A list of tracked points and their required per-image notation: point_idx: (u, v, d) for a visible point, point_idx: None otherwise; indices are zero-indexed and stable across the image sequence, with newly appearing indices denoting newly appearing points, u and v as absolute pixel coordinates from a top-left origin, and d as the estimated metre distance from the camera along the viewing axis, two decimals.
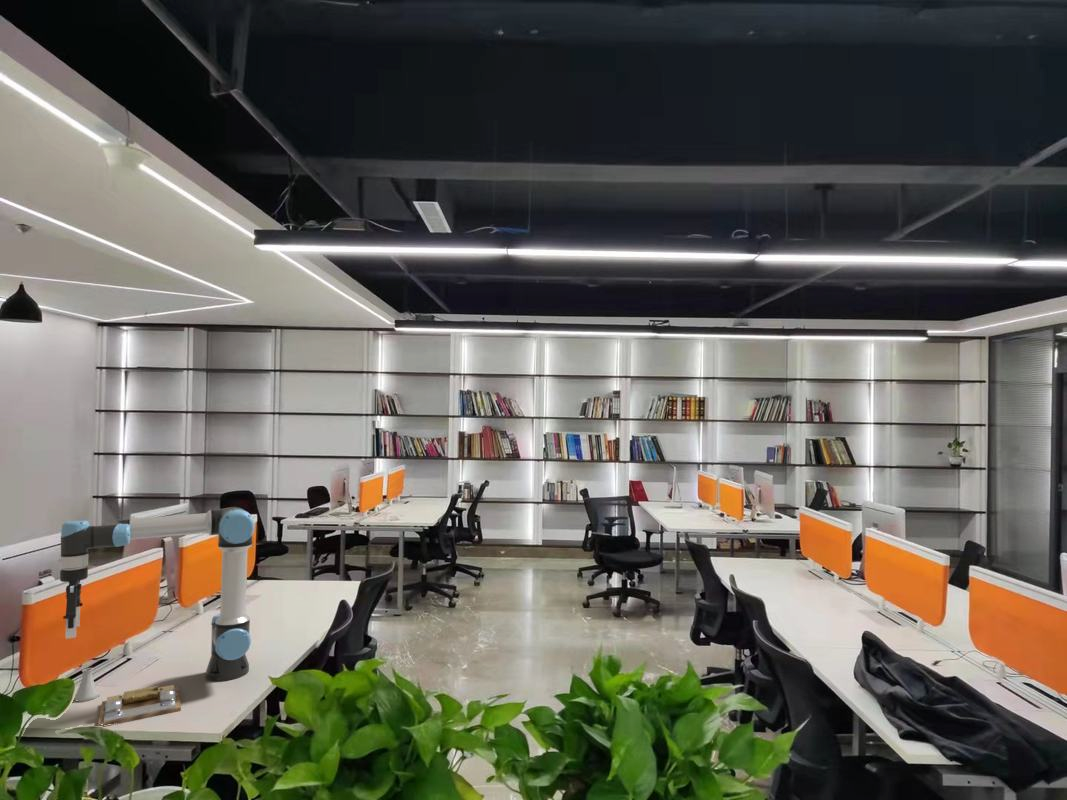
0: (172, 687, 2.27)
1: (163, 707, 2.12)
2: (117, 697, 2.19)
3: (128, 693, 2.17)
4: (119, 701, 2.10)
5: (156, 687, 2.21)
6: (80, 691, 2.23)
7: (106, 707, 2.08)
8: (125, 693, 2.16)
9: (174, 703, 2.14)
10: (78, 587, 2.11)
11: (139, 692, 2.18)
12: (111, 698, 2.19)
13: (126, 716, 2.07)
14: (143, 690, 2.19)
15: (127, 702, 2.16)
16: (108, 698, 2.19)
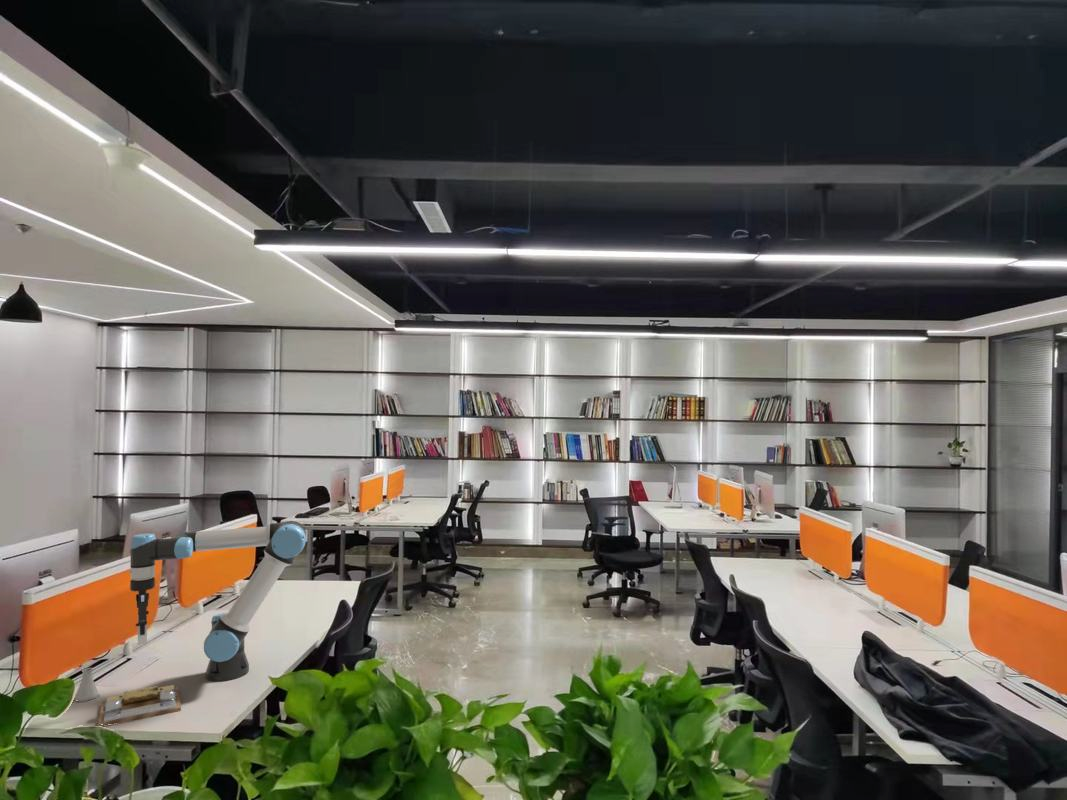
0: (172, 687, 2.27)
1: (163, 707, 2.12)
2: (117, 697, 2.19)
3: (128, 693, 2.17)
4: (119, 701, 2.10)
5: (156, 687, 2.21)
6: (80, 691, 2.23)
7: (106, 707, 2.08)
8: (125, 693, 2.16)
9: (174, 703, 2.14)
10: (147, 596, 2.26)
11: (139, 692, 2.18)
12: (111, 698, 2.19)
13: (126, 716, 2.07)
14: (143, 690, 2.19)
15: (127, 702, 2.16)
16: (108, 698, 2.19)
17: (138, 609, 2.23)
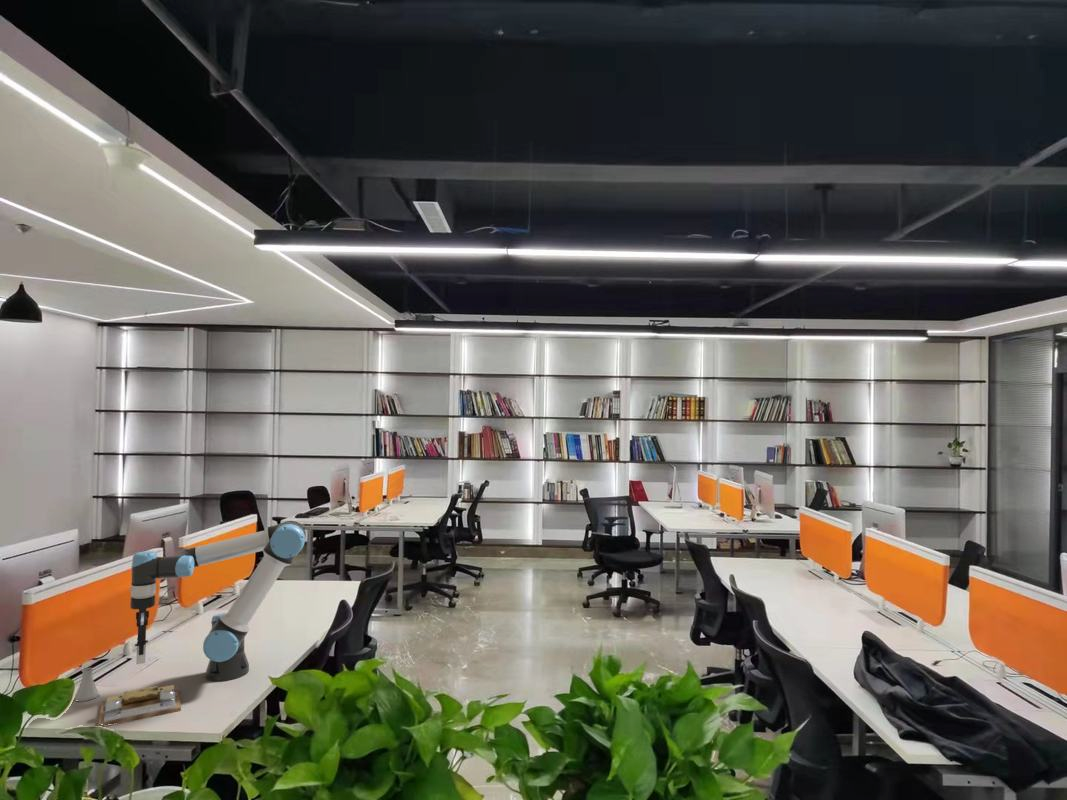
0: (172, 687, 2.27)
1: (163, 707, 2.12)
2: (117, 697, 2.19)
3: (128, 693, 2.17)
4: (119, 701, 2.10)
5: (156, 687, 2.21)
6: (80, 691, 2.23)
7: (106, 707, 2.08)
8: (125, 693, 2.16)
9: (174, 703, 2.14)
10: (147, 615, 2.26)
11: (139, 692, 2.18)
12: (111, 698, 2.19)
13: (126, 716, 2.07)
14: (143, 690, 2.19)
15: (127, 702, 2.16)
16: (108, 698, 2.19)
17: None
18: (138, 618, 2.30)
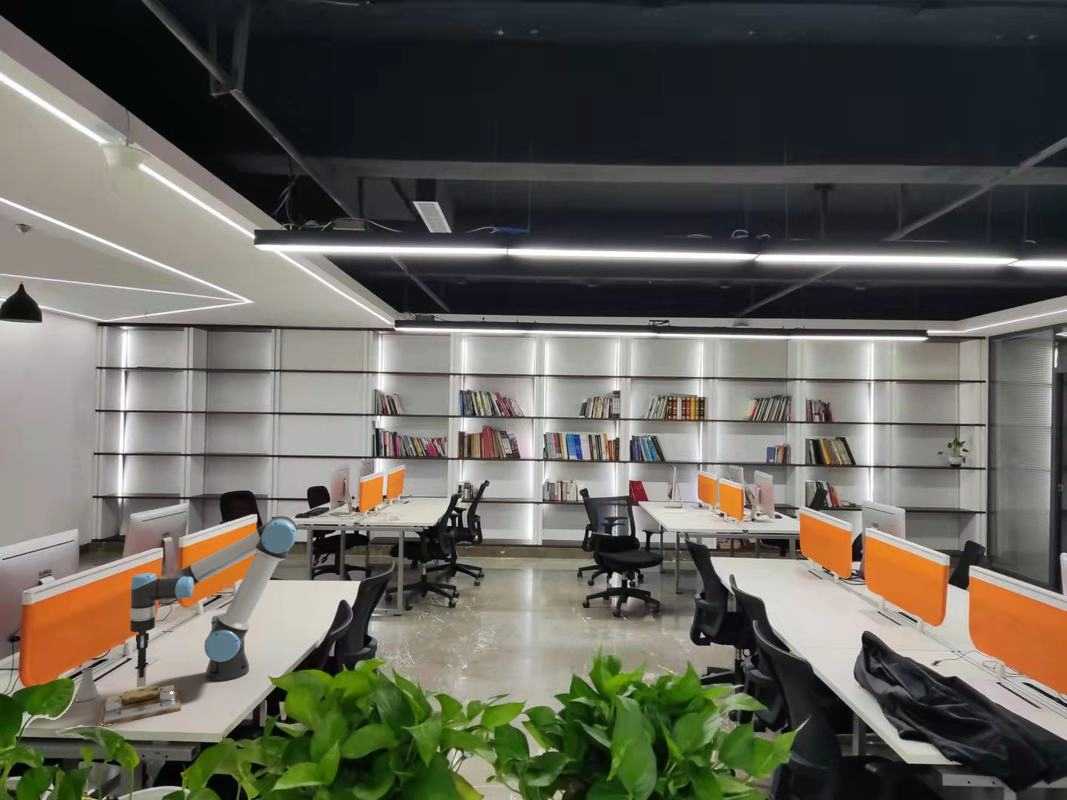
0: (172, 687, 2.27)
1: (163, 707, 2.12)
2: (117, 697, 2.19)
3: (128, 693, 2.17)
4: (119, 701, 2.10)
5: (156, 687, 2.21)
6: (80, 691, 2.23)
7: (106, 707, 2.08)
8: (125, 693, 2.16)
9: (174, 703, 2.14)
10: (147, 638, 2.25)
11: (139, 692, 2.18)
12: (111, 698, 2.19)
13: (126, 716, 2.07)
14: (143, 690, 2.19)
15: (127, 702, 2.16)
16: (108, 698, 2.19)
17: None
18: (138, 640, 2.29)
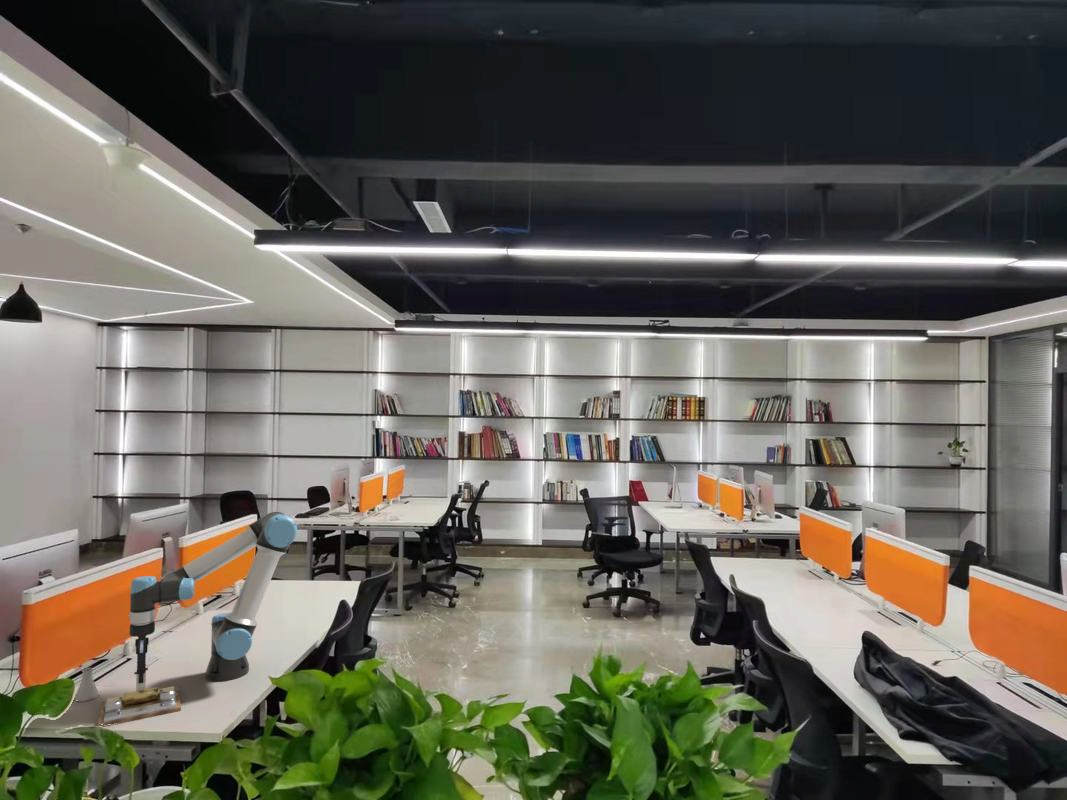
0: (172, 688, 2.26)
1: (163, 707, 2.12)
2: (117, 699, 2.18)
3: (128, 694, 2.15)
4: (119, 701, 2.10)
5: (156, 688, 2.20)
6: (80, 691, 2.23)
7: (106, 707, 2.08)
8: (125, 694, 2.15)
9: (174, 703, 2.14)
10: (146, 643, 2.20)
11: (139, 694, 2.17)
12: (111, 699, 2.17)
13: (126, 716, 2.07)
14: (143, 691, 2.18)
15: (127, 704, 2.15)
16: (108, 699, 2.17)
17: None
18: None
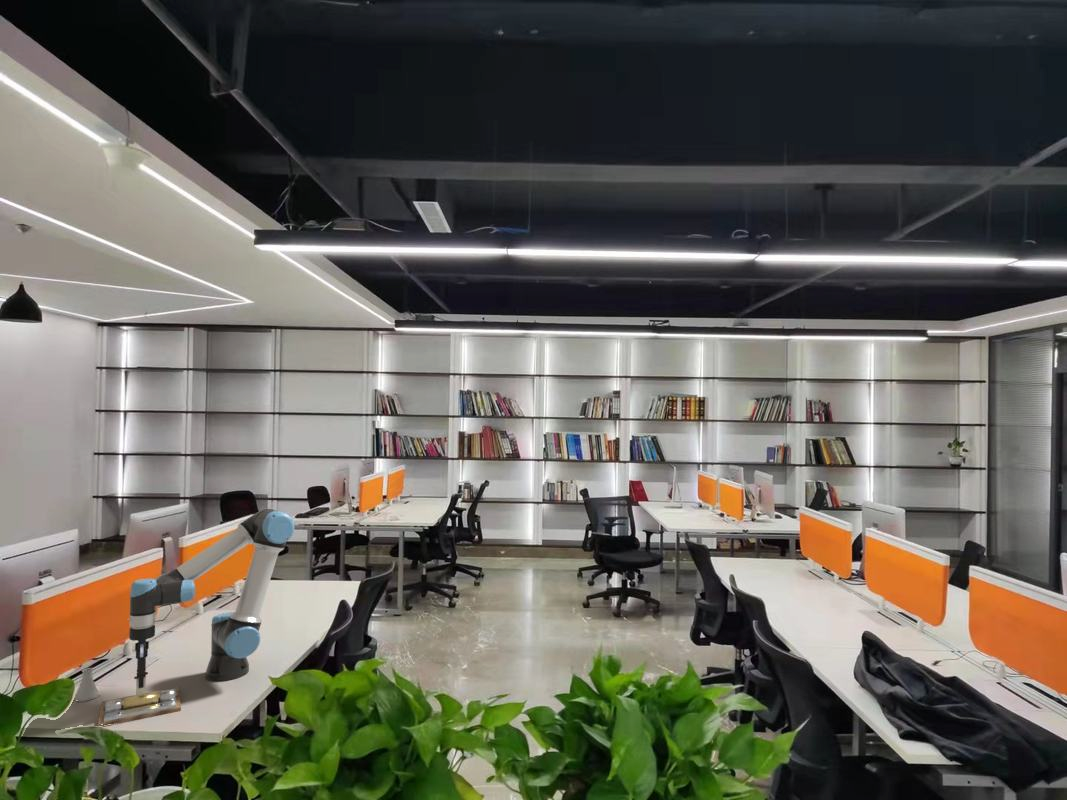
0: None
1: (163, 707, 2.12)
2: None
3: (128, 699, 2.11)
4: (119, 701, 2.10)
5: (156, 693, 2.16)
6: (80, 691, 2.23)
7: (106, 707, 2.08)
8: (124, 699, 2.11)
9: (174, 703, 2.14)
10: (146, 646, 2.16)
11: (139, 698, 2.13)
12: None
13: (126, 716, 2.07)
14: (143, 696, 2.14)
15: None
16: None
17: None
18: None
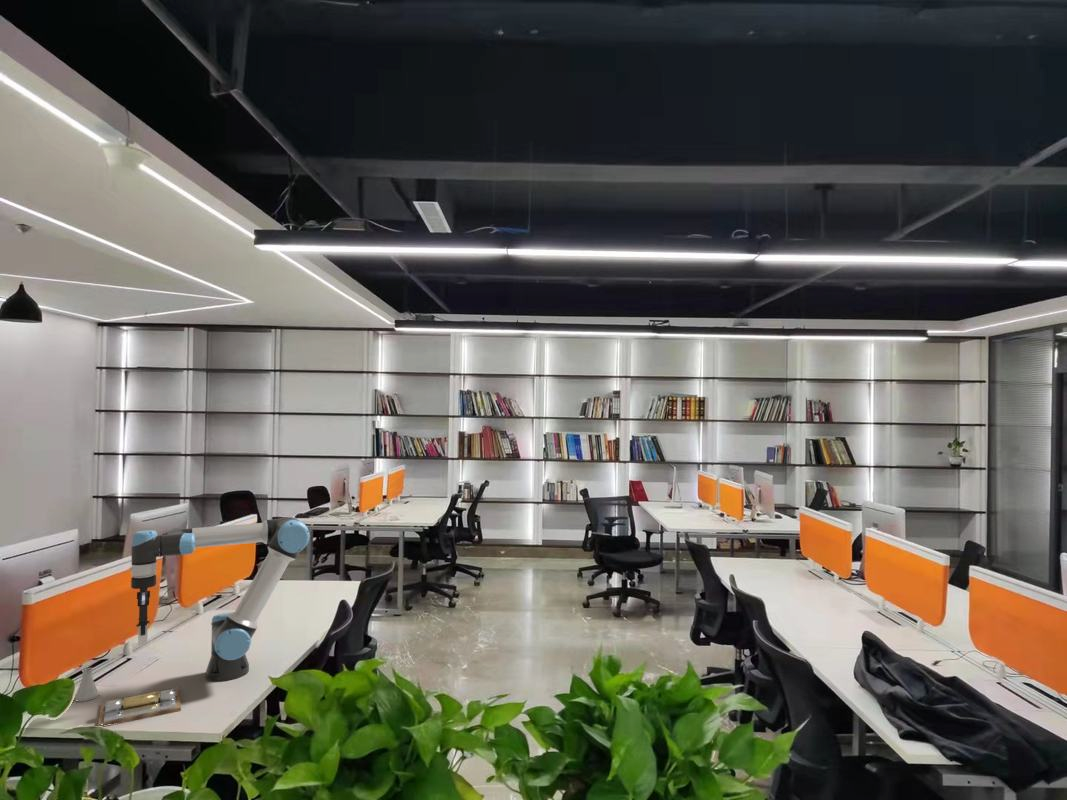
0: None
1: (163, 707, 2.12)
2: None
3: (128, 699, 2.11)
4: (119, 701, 2.10)
5: (156, 693, 2.16)
6: (80, 691, 2.23)
7: (106, 707, 2.08)
8: (124, 699, 2.11)
9: (174, 703, 2.14)
10: (148, 595, 2.22)
11: (139, 698, 2.13)
12: None
13: (126, 716, 2.07)
14: (143, 696, 2.14)
15: None
16: None
17: None
18: (139, 598, 2.25)
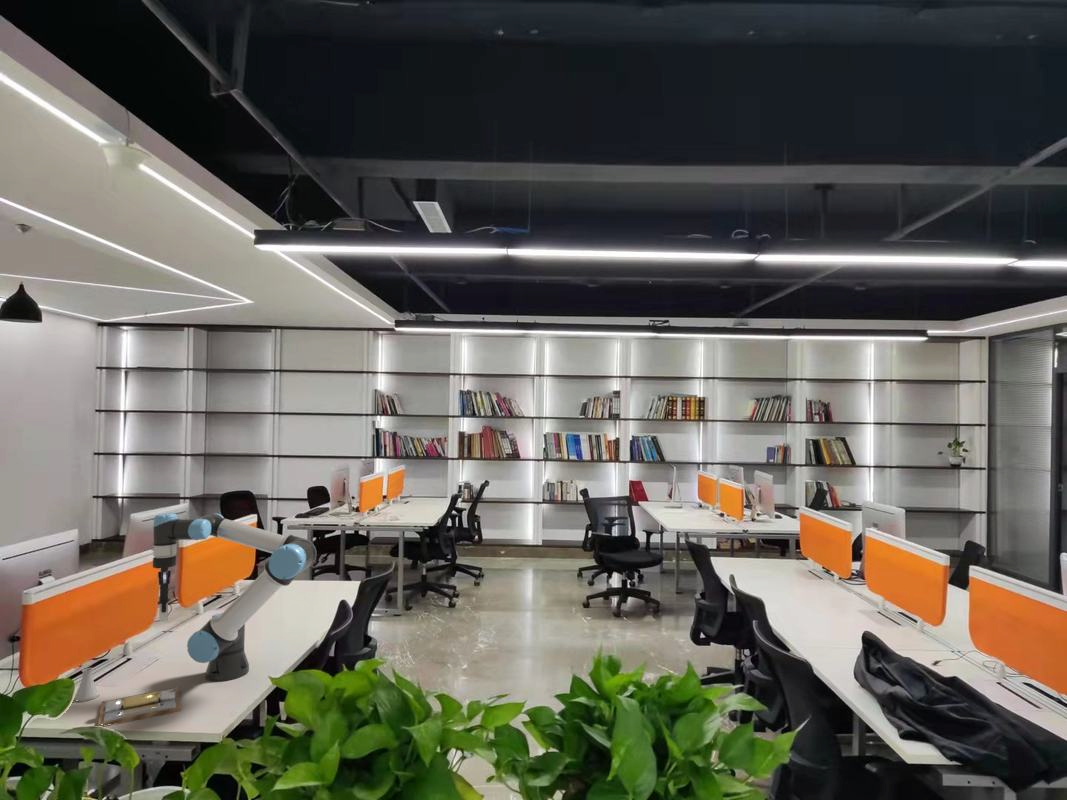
0: None
1: (163, 707, 2.12)
2: None
3: (128, 699, 2.11)
4: (119, 701, 2.10)
5: (156, 693, 2.16)
6: (80, 691, 2.23)
7: (106, 707, 2.08)
8: (124, 699, 2.11)
9: (174, 703, 2.14)
10: (168, 574, 2.35)
11: (139, 698, 2.13)
12: None
13: (126, 716, 2.07)
14: (143, 696, 2.14)
15: None
16: None
17: (160, 588, 2.33)
18: None
